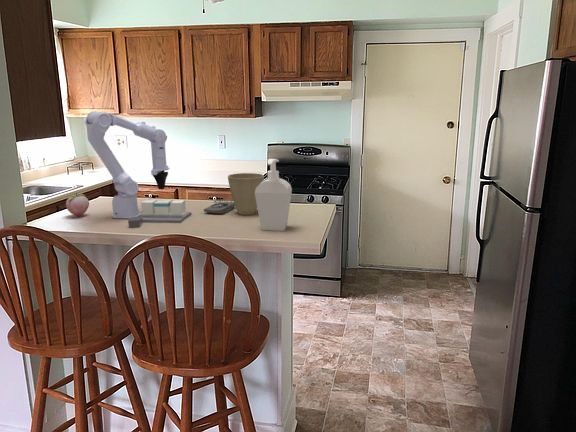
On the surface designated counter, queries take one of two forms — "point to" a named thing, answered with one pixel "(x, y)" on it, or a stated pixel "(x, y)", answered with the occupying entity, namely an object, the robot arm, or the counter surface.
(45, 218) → the counter surface
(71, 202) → the decorative fruit
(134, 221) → the box
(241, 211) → the plant pot
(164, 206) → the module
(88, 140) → the robot arm
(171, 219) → the mounting plate
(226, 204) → the graphics card
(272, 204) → the soap bottle
